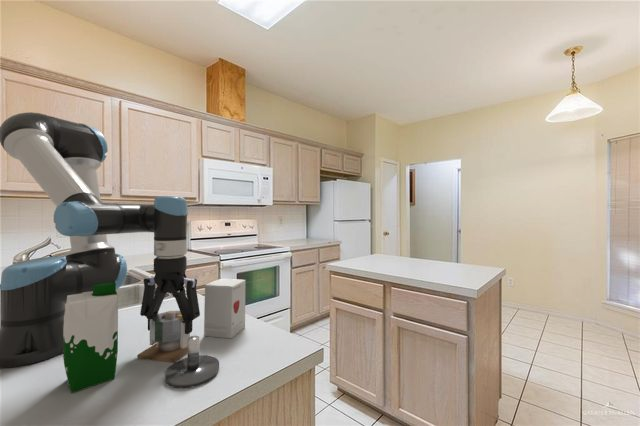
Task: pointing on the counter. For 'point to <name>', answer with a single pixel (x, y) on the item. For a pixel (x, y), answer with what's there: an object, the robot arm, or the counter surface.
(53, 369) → the counter surface
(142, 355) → the stand
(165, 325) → the clutch ring
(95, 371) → the milk carton
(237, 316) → the supplement box
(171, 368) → the disc
